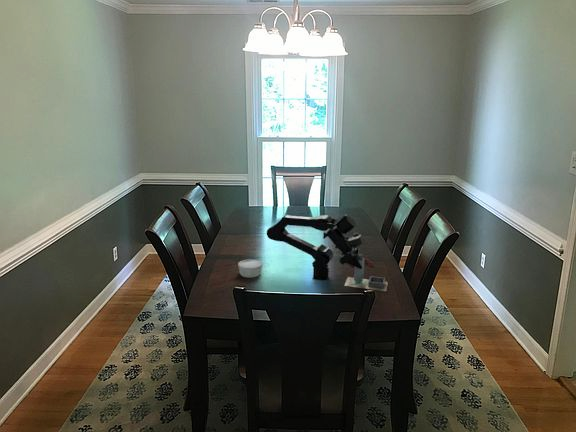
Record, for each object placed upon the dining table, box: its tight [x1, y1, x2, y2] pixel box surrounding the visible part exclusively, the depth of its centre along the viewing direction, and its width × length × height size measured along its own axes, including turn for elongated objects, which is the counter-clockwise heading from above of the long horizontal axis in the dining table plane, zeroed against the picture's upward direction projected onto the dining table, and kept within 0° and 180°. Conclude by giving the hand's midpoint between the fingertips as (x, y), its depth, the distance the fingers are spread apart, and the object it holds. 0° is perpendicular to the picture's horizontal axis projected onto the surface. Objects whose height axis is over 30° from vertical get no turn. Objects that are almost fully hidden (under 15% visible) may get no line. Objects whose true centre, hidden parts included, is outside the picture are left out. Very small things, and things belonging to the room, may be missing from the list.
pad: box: [351, 279, 365, 286], centre depth 204 cm, size 6×6×1 cm
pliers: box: [347, 257, 373, 268], centre depth 232 cm, size 12×20×3 cm, turn 15°
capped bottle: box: [353, 253, 365, 282], centre depth 202 cm, size 4×4×12 cm
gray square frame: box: [368, 275, 386, 289], centre depth 201 cm, size 7×7×2 cm
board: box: [344, 276, 389, 292], centre depth 203 cm, size 18×10×1 cm, turn 74°
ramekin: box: [237, 259, 263, 279], centre depth 212 cm, size 11×11×5 cm
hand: (362, 266), depth 201 cm, fingers closed on capped bottle, 4 cm apart
